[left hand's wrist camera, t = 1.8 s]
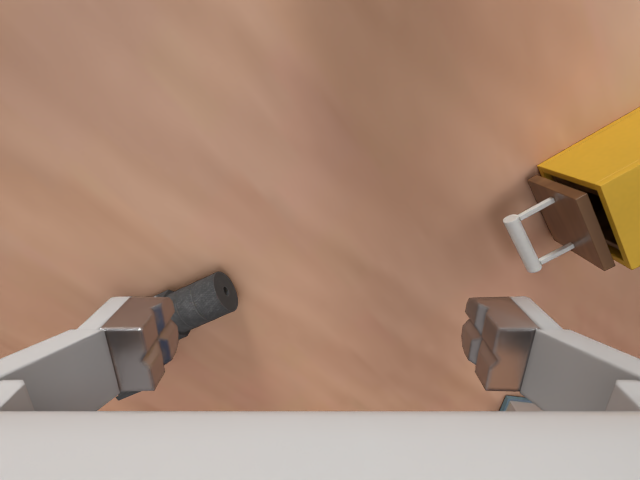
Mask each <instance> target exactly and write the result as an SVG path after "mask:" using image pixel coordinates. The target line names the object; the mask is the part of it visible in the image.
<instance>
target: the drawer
mask: <svg viewBox="0 0 640 480" xmlns="http://www.w3.org/2000/svg"><path fill="white" fill-rule="evenodd" d="M551 176H552V178H553V181H552V180H549V179H546V178H544V177H541V176H538V175H535V176H534V177H532V178H530V179H528V180H527V181H528V183H529V185H530V187H531V189H532V192H533V194H534V196H535V198H536V201H537V203H538V204H537V205H535V206H533V207H531V208H529V209H527V210H526V211H524V212H522V213H520V214H518V215H516V214H512V215H509V216H507V217H505V218H504V219H503V223H504V225H505V227H506V229H507V231H508V233H509V235H510V237H511V239H512V241H513V243H514V245H515V247H516V249H517V251H518V253H519V255H520V257H521V259H522V261H523V263H524V265H525V267H526V269H527V271H528V272H530V273H535V272H538V271H539V270H541V268H542V266H541V264H544V263H546V262H548V261H550V260H552V259H554V258H556V257H558V256H560V255H562V254H564V253H566V252H568V251H569V250H571V251H573V252H574V253H576V254H578V255H579V256H581V257H583V258H584V259H586V260H587V261H589V262H591V263H592V264H594V265H596V266H597V267H599V268H600V269H602V270H604V271H606V270H608V269H610V268H612V267H614V266H615V263H614V261H613V258H612V256H611V253H610V250H609V248H608V245H610V246H612V247H614V248H616V249H618V250H619V247H618V244H617V242H616V239H615V237H614V234H613V231H612V229H611V226H610V223H609V221H608V218H607V215H606V213H605V210H604V208H603V205H602V202H601V200H600V197H599V194H598V192H597V190H594V189H591V188H588V187H585V186H582V185H579V184H576V183H573V182H570V181H567V180H565V179H562V178H559V177H556V176H553V175H551ZM540 210H541V212H542V214H543V216H544V219H545V221H546V223H547V225H548V227H549V230H550V232H551V234H552V236H553V239H554V240H555V241H557V242H558V243H560V244H562V245H563V246H562V247H560V248H558V249H556V250H554V251H552V252H550V253H549V254H547V255H545V256H543V257H541V258H539V259H538V257H537V255H536V253H535V251H534V249H533V247H532V244H531V242H530V240H529V238H528V236H527V234H526V232H525V230H524V228H523V225H522V223H521V221H522V220H523V219H525V218H527V217H529V216H531V215H533V214H534V213H536V212H538V211H540ZM520 220H521V221H520ZM607 244H608V245H607Z"/></svg>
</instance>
